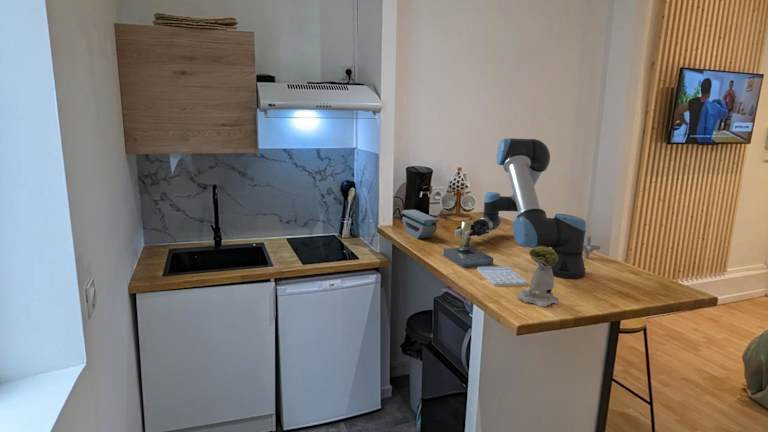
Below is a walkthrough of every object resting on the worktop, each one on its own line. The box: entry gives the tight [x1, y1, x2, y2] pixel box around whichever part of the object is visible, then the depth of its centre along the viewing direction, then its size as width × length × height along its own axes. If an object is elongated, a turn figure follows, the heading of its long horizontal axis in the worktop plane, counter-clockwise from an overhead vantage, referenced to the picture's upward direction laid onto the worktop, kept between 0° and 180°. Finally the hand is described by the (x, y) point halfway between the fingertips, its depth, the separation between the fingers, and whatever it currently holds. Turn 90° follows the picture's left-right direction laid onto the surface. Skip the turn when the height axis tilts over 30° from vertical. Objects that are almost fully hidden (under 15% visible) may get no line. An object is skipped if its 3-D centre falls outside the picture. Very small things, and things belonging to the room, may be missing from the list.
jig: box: [443, 246, 495, 268], centre depth 206 cm, size 18×14×3 cm
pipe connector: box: [583, 235, 601, 259], centre depth 214 cm, size 10×10×10 cm
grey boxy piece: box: [401, 209, 439, 240], centre depth 245 cm, size 25×8×11 cm, turn 23°
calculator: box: [476, 265, 529, 287], centre depth 186 cm, size 13×20×2 cm, turn 8°
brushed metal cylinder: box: [459, 220, 472, 248], centre depth 225 cm, size 4×4×12 cm
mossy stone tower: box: [517, 246, 559, 307], centre depth 162 cm, size 12×13×18 cm
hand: (460, 234), depth 221 cm, fingers closed on brushed metal cylinder, 4 cm apart
